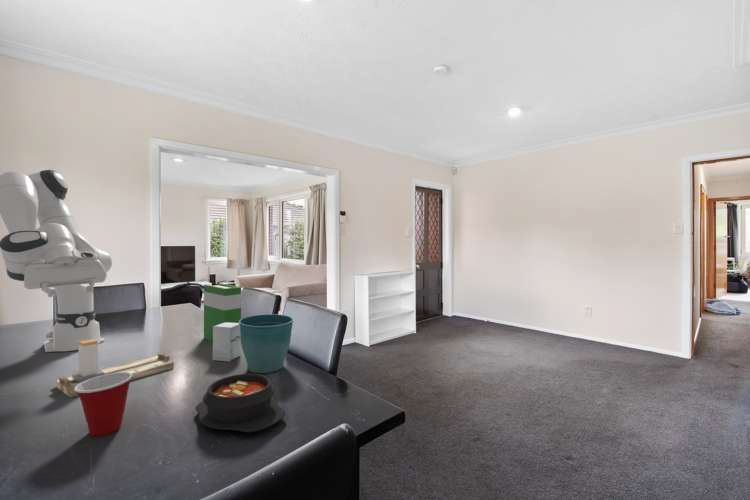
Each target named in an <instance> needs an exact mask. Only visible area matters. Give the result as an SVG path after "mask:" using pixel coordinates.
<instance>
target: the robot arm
mask: <svg viewBox="0 0 750 500" xmlns="http://www.w3.org/2000/svg"><path fill="white" fill-rule="evenodd" d="M68 188H69V187H68V184H67V181H66V180H65V178H64V177H63V176H62V175H61V174H60V173H59V172H57V171H56V170H54V169H44V170H41V171H39V172H35V173H31V174H25V173H23V172H18V171H7V172H4V173H3V172H2V174H0V217H1V220H2V221H3V223H4V225H5V228H6V229H7V231H8V234H6V235H5V236H3V237H2V238H1V240H0V252H1V255H2V258H3V261H4V264H5V268H6V274H7V277H9V278H10V279H12V280H15V281H20V282H23V287H24V288H25V289H27V290H37V289H41V291H42V292H44V293H45V294H47V297H48V298H54V297H56V301H57V312H56V315H55V325H54V326H53V327H52V329H51V331H48V332H46V333H45V337H46V339H48V340H46V341H44V342H43V347H44V351H45V353H51V352H71V351H79V343H78V342H79V341H84V340H89V339H95V340H97V341H98V345H99V344H100V343H103V342H105V338H103V337H101V329H100V322H99V321H97V320H95V318H96V310H95V309H94V308H95V307H94V303H95V302H94V301H95V300H94V290H95V289H94V288H95V287H94V286H95V284H99V283H104V282H105V281H106V279H107V276H108V274H107V273H108V272H110V270H111V268H112V265H113V259H112V257H111V256H110V254H109V253H108V252H107V251H105V250H102V249H99V248H98V247H96V246H95V245H94V244H93V243H91V242H90V241H89V240H88V239H86V238H85V236H84V235H83V233H82V231H81V230H80V228H79V225H78V223H77V222H76V219H75V217H74V215H73V213H72V211H71V210H70V208H69V207H68V205H66V203H65V202H64V201H65V199H66V196H67V193H68V190H69V189H68ZM37 221H38V224H39V227H38V228H37ZM87 284H88V285H87ZM83 285H87V286H83ZM51 288H53V289H51Z"/></svg>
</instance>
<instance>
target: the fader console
mask: <svg viewBox="0 0 750 500" xmlns="http://www.w3.org/2000/svg"><path fill="white" fill-rule="evenodd" d="M174 365H175V362H174V361H172V360H170V355H168V354H166V353H162V352H159V353H157V355H152V356H149V357H145V358H141V359H136V360H133V361H128V362H124V363H122V364H115V365H113V366H109V367H105V368H100V369H99V370H101V371H102V372H104V375H106V374H111V373H118V372H129V373H132V378H131V380H130V381H134V380H136V379H140V378H143V377H148V376H151V375H154V374H157V373H161V372H165V371H168V370H171V369H174V368H175V366H174ZM78 384H79V382H77V381H76V380H74V379H73V378H72V375H71V376H68V377H65V376H59V377H58V379H56V380H55V387H56V389H57V390H59V391H61V392H62V393H63V394H65V395H66V396H67V397H68V398H73V397H79V395H78V394H77V392H75V390H74V388H75V386H77V385H78Z"/></svg>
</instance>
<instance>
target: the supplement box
mask: <svg viewBox="0 0 750 500" xmlns="http://www.w3.org/2000/svg"><path fill="white" fill-rule="evenodd" d="M241 355H242V345H241V335H240V324H239V323H228V322H224V323H222V324H219V325H216V326H213V342H212V361H218V362H219V361H221V362H231V361H233V360H234V359H236V358H239V357H240V356H241Z"/></svg>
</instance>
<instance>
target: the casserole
mask: <svg viewBox="0 0 750 500" xmlns="http://www.w3.org/2000/svg"><path fill="white" fill-rule="evenodd" d="M275 391H276V389H275V385H273V383H272V381H271V378H269V377H267V376H265V375H264V374H263V375H262V374H259V373H242V374H241V373H240V374H234V375H230V376H226V377H223V378H220V379H217V380H216V381H213V382H212V383H211V384H210V385H209V386H208V388H207V390H206V392H205V393H204V394H203V397H202V401H200V402H199V403H197V404H196V406H195V411H196V412H197V413H198V419H199V422H200V423H201V424H202V425H204V426H205V427H208V428H210V429H214V430H215V429H216V430H219V431H220V430H224V431H225V430H226V431H237V432H244V433H253V432H258V431H261V430H265V429H267V428H269V427H271V426H273V425H275V424H277V423H278V422H280V421H281V420H282V419H283V418H284V417H285V415H286V411H285V410H284V409H283V408H282V407H281V406H280V405H279V403H278V402H277V399H275V398H274V397H273V395H274V393H275Z"/></svg>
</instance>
